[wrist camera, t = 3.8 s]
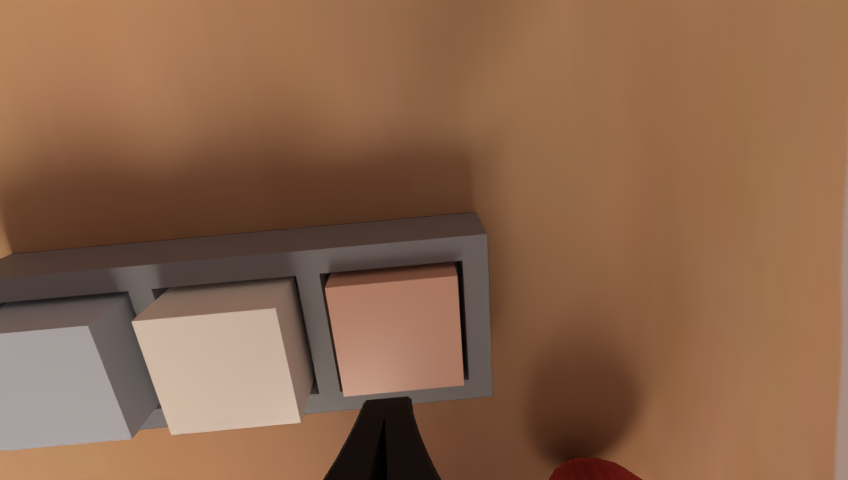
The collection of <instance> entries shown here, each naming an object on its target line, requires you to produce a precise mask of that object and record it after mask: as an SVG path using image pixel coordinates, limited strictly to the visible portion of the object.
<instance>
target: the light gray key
mask: <svg viewBox="0 0 848 480" xmlns="http://www.w3.org/2000/svg"><path fill="white" fill-rule="evenodd" d="M136 317H137V316H136V313H135V310H134V307H133V304H132V301H131V298H130V296H129V293H128V291H124V292H113V293H102V294H91V295H80V296H69V297H58V298H47V299H37V300H26V301H15V302H8V303H6V304H4V305H3V306H1V307H0V450H1V451H9V450H19V449H30V448H40V447H51V446H61V445H72V444H82V443H93V442H103V441H114V440H125V439H132V438H133V437H134V436H135V434H136V433H137V432H138V430H139V429H140V428H141V427H142V425H143V424H144V423H145V421H146V420H147V419H148V417H149V416H150V415H151V413H152V412H153V411H154V410H155V408H156V407H157V406H158V404H159V403H160V402H159V399H158V396H157V393H156V391H155V388H154V385H153V382H152V379H151V376H150V373H149V371H148V368H147V365H146V362H145V359H144V356H143V354H142V351H141V348H140V345H139V342H138V339H137V337H136V334H135V331H134V328H133V325H132V322H131V321H132V320H134V319H135V318H136Z"/></svg>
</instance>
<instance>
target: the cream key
mask: <svg viewBox="0 0 848 480" xmlns="http://www.w3.org/2000/svg"><path fill="white" fill-rule="evenodd" d="M131 322H132V325H133V328H134V331H135V334H136V337H137V339H138V342H139V345H140V348H141V351H142V354H143V356H144V359H145V362H146V365H147V368H148V371H149V373H150V376H151V379H152V382H153V385H154V388H155V391H156V393H157V396H158V399H159V402H160V405H161V408H162V410H163V413H164V416H165V419H166V422H167V425H168V427H169V430H170V433H171V435H176V434H187V433H198V432H208V431H219V430H229V429H240V428H250V427H261V426H271V425H282V424H292V423H301V421H302V417H303V414H304V411H305V407H306V404H307V401H308V398H309V394H310V391H311V388H312V385H313V381H314V378H315V375H314V370H313V365H312V360H311V355H310V350H309V345H308V340H307V335H306V330H305V325H304V320H303V315H302V310H301V305H300V300H299V295H298V290H297V285H296V280H295V276H288V277H277V278H266V279H255V280H244V281H233V282H222V283H211V284H200V285H189V286H179V287H170V288H169V289H168V290H167V291H166V292H164V293H163V294H162V295H161V296H160V297H159V298H158V299H156V300H155V301H154V302H153V303H152V304H151V305H150V306H148V307H147V308H146V309H145V310H144V311H143V312H142V313H140V314H139V315H138V316H137V317H136V318H135V319H134V320H132V321H131Z"/></svg>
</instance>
